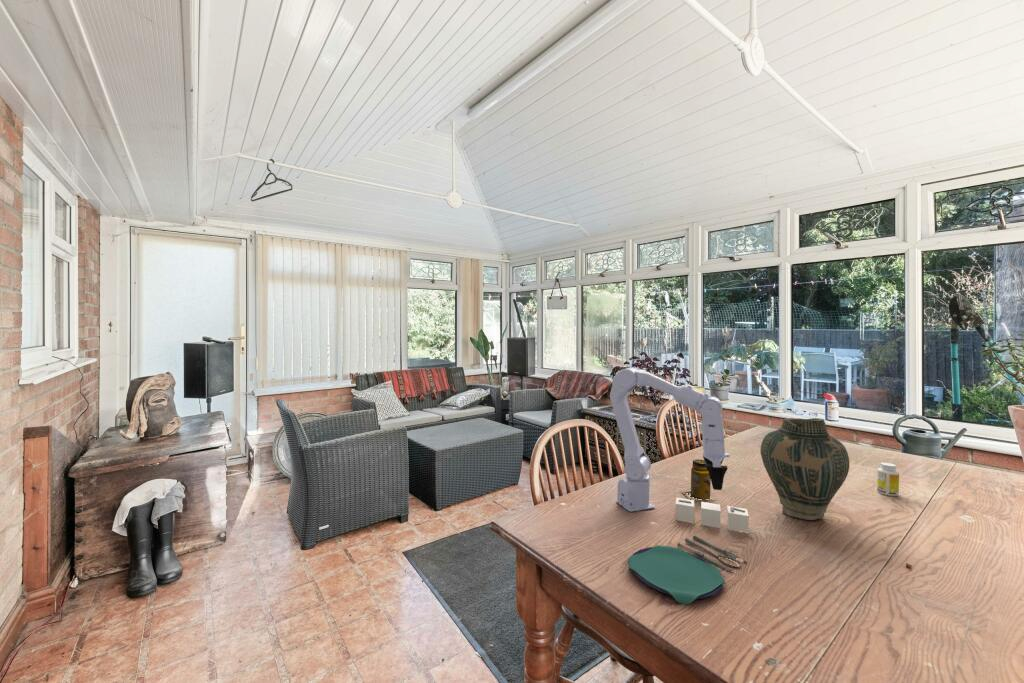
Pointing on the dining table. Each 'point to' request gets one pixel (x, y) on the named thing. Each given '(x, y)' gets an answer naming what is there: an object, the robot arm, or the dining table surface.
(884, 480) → the supplement bottle
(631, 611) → the dining table surface
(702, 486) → the condiment
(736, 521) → the digit seven block
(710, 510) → the plain block
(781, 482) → the vase
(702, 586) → the cutlery set
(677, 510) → the digit one block
